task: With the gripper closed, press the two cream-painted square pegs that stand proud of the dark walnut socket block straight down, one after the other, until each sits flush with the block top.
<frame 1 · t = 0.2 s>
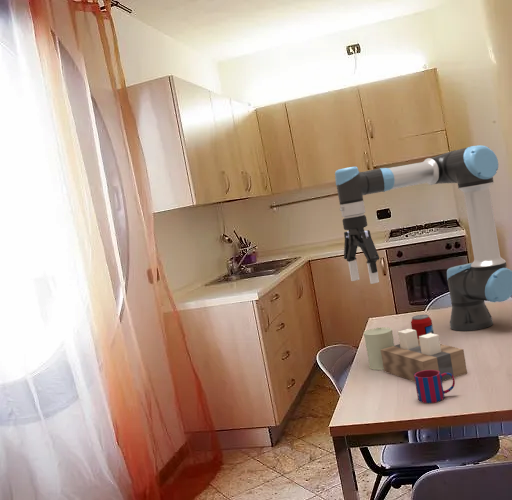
hand: (364, 281, 198), 28 cm above the table, fingers open, 13 cm apart
mug: (437, 398, 163), on the table
socket block: (423, 372, 186), on the table
beverage can: (426, 351, 208), on the table
can: (383, 366, 200), on the table
peg 2: (430, 347, 180), point 8 cm above the table, slide at 5.0 cm
peg 1: (408, 342, 191), point 8 cm above the table, slide at 5.0 cm
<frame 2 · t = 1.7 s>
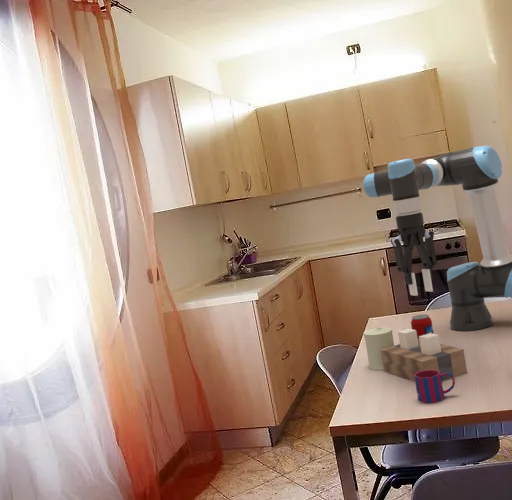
hand: (421, 292, 179), 25 cm above the table, fingers open, 4 cm apart
nothing on the table moved.
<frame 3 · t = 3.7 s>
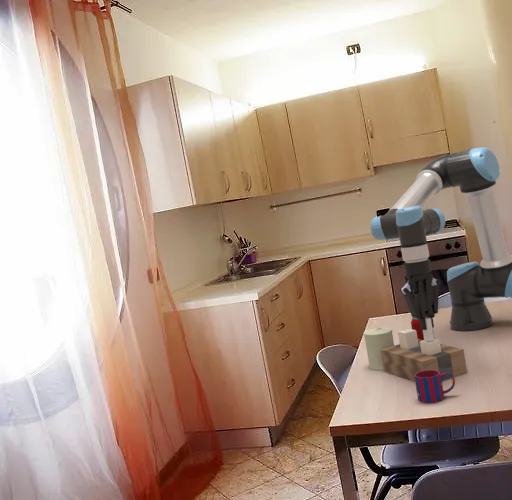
hand: (429, 339, 180), 11 cm above the table, fingers closed
peg 2: (431, 352, 181), point 7 cm above the table, slide at 3.5 cm, touching gripper
everything else where it was.
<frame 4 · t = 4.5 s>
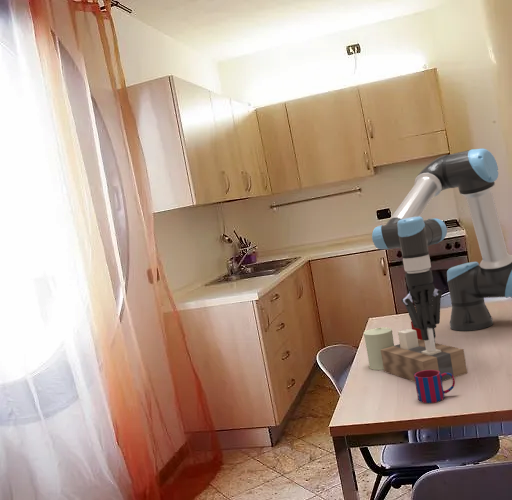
hand: (430, 350, 180), 8 cm above the table, fingers closed
peg 2: (433, 362, 181), point 4 cm above the table, slide at 0.5 cm, touching gripper
everything else where it was.
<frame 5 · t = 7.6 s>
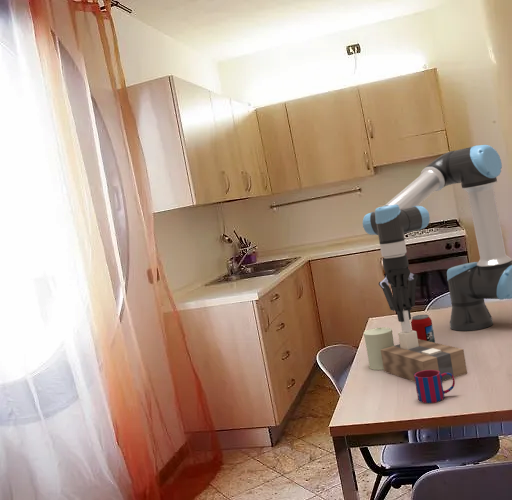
hand: (406, 331, 190), 12 cm above the table, fingers closed
peg 2: (433, 362, 181), point 4 cm above the table, slide at 0.4 cm
peg 1: (408, 343, 191), point 8 cm above the table, slide at 4.7 cm, touching gripper
everything else where it was.
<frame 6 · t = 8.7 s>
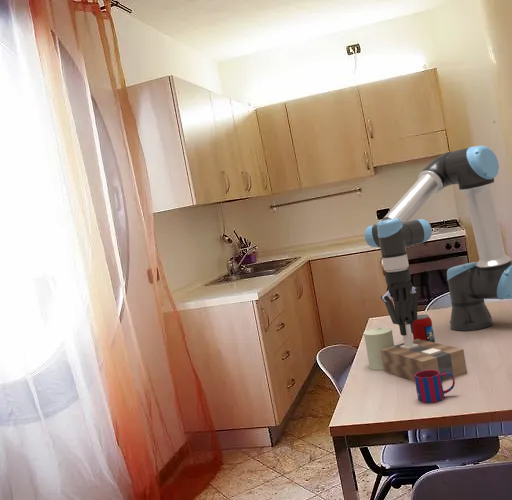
hand: (408, 344, 191), 8 cm above the table, fingers closed
peg 1: (411, 356, 191), point 4 cm above the table, slide at 0.4 cm, touching gripper
everything else where it was.
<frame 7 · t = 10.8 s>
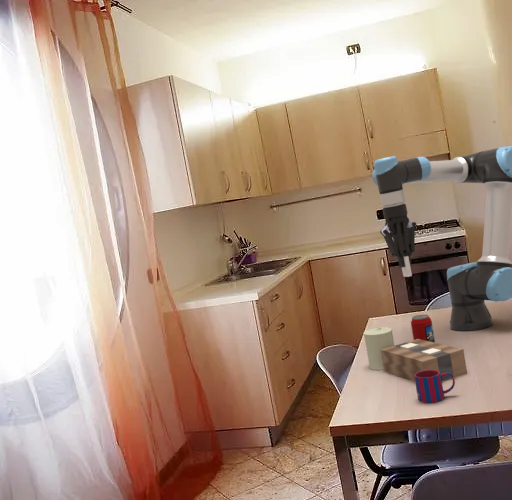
hand: (407, 276, 202), 27 cm above the table, fingers closed
peg 1: (411, 356, 191), point 4 cm above the table, slide at 0.4 cm
everything else where it was.
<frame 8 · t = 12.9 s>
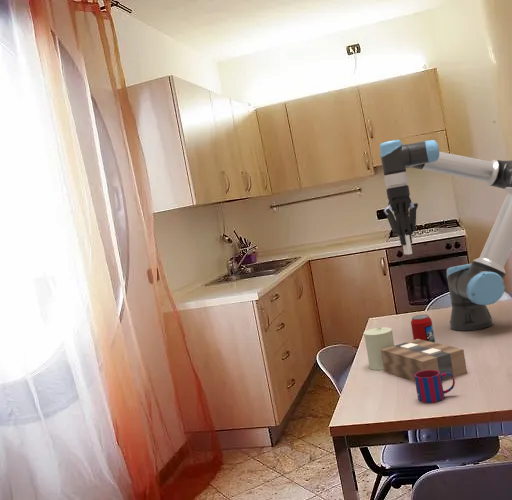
hand: (408, 253, 214), 32 cm above the table, fingers closed
nothing on the table moved.
at the end: peg 2 slide at 0.4 cm; peg 1 slide at 0.4 cm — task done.
